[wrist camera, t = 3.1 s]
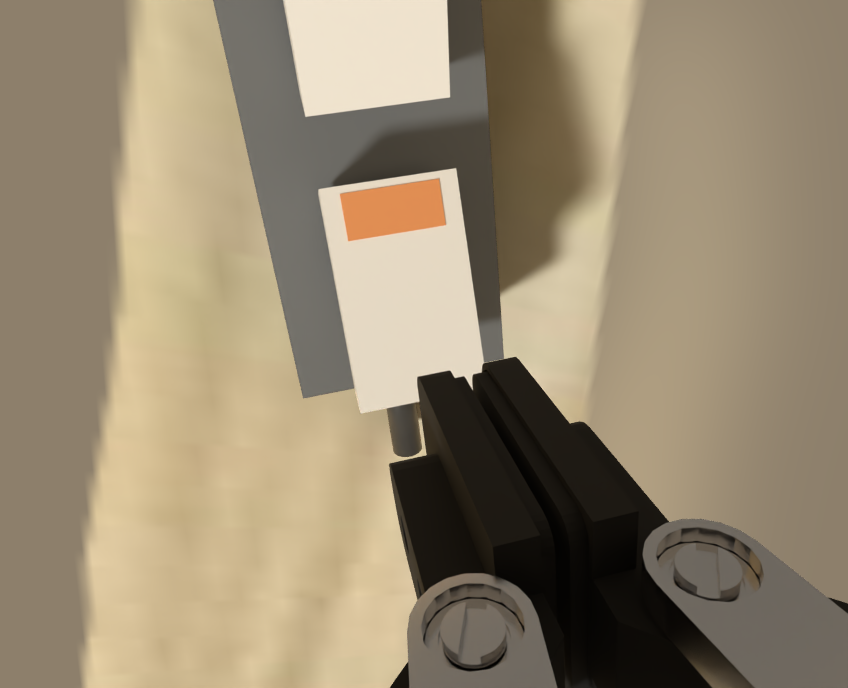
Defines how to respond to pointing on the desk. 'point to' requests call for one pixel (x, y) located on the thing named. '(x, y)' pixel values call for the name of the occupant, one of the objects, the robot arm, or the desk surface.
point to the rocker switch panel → (356, 180)
